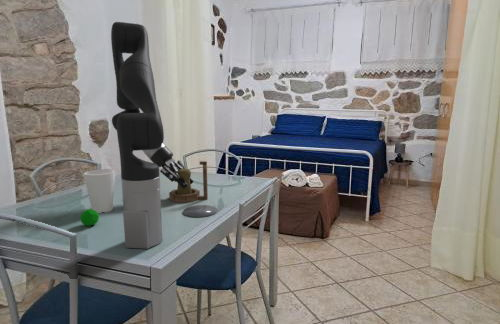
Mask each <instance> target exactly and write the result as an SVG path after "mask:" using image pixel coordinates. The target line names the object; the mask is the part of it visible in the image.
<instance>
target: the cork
mask: <svg viewBox="0 0 500 324" xmlns="http://www.w3.org/2000/svg"><path fill="white" fill-rule="evenodd" d="M178 174H179V175H180V177H181V178H182V179H183V180H184V181H185V182H186V183H187V184H188V186H187V187H186V188H185V189H183V188H182V187H181V186H180V185H179V184H178V183H177V195H187V194H192V190H191V188H192V184H190V178H191V176H192V172H191V170H190V169H187V168H186V169H180V170H178Z"/></svg>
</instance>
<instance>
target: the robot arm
mask: <svg viewBox="0 0 500 324" xmlns="http://www.w3.org/2000/svg"><path fill="white" fill-rule="evenodd" d="M146 28H147V27H145V26H144V25H143V24H139V23H131V22H124V21H115V22H113V24H112V27H111V33H110V34H111V35H110V40H111V41H110V42H111V53H112V61H113V68H114V74H115V81H116V82H115V83H116V85H115V86H116V105H117V106H118V107H119V108H120V109H122V110H123V111H120V112H118V113H116V114H114V115H113V116H112V118H111V124H112V126H113V128H114V129H115V130H116V133H117V142H118V143H117V144H118V150H119V160H120V178H121V192H122V194H121V195H122V206H123V207H122V208H123V211H122V216H123V218H122V219H123V220H122V221H123V232H124V233H123V234H124V248H126V249H129V248H130V249H144V250H145V249H146V250H147V249H150V248H151V247H155V246H156V245H159V244H160V243H162V242H163V225H162V224H163V223H162V222H163V221H162V205H161V204H162V202H161V180H160V177H161V176H160V173H161V174H162V175H163V176H165V178H167V179H169V181H170V182H175V183H177V185H178V184H179V185H180V186H181V187H182V188H183V189H185V188H186V187H187V186H188V184H187V183H186V182H185V181H184V180H183V179H182V178H181V177H180V175H179V174H178V170H180V169H187V168H186V167H185V165H184V164H183V162H182V161H181V160H175V159H173V156H174V153H173V152H172V151H171V150H170V149H169V148H168V147H167V146H166V145H165V143H164V139H165V136H164V135H165V133H164V132H165V131H164V125H163V122H162V117H161V112H160V110H159V106H158V101H157V95H156V88H155V87H156V86H155V80H154V73H153V68H152V62H151V58H150V45H149V34H148V31H147V30H148V29H146ZM123 54H129V55H130V54H131V55H130V56H128V57H127V58H126V59H125V60H124V57H123ZM135 151H142V152H143V153H144V154H145V156H146V157H147V158H148V159H149V160H150V162H149V161H146V160H143V159H141V158H139V157H138V156H136V155H135V154H134V153H133V152H135ZM160 168H161V169H160ZM193 183H194V180H193V179H192V177H190V184H191V185H192V184H193Z"/></svg>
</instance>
